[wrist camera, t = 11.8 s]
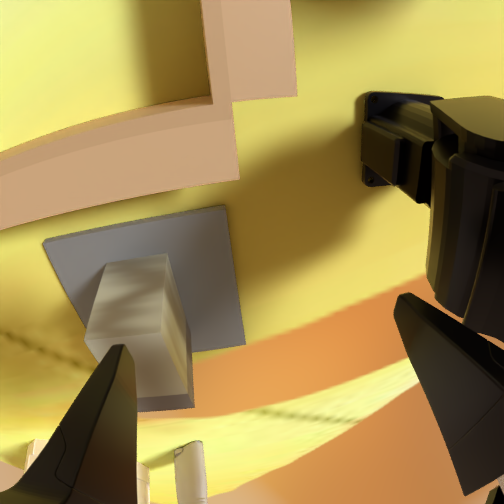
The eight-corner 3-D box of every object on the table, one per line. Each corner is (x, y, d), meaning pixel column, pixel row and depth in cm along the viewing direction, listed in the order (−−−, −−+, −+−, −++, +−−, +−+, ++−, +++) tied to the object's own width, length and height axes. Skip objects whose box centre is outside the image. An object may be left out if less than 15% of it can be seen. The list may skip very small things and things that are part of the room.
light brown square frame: (249, -153, 6) (260, -182, 3) (281, 149, 19) (300, 171, 16) (-62, -43, 4) (-92, -46, 1) (-24, 216, 17) (-51, 246, 14)
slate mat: (224, 205, 20) (225, 209, 20) (245, 339, 28) (246, 344, 27) (45, 239, 19) (42, 243, 19) (107, 356, 27) (106, 361, 26)
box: (167, 253, 21) (160, 332, 15) (191, 333, 25) (194, 407, 20) (106, 262, 21) (83, 340, 15) (140, 339, 25) (134, 412, 19)
